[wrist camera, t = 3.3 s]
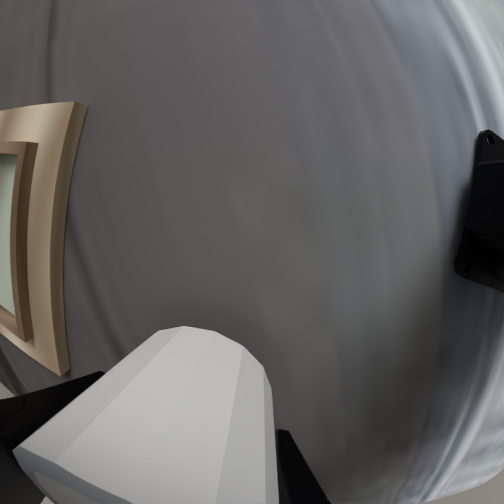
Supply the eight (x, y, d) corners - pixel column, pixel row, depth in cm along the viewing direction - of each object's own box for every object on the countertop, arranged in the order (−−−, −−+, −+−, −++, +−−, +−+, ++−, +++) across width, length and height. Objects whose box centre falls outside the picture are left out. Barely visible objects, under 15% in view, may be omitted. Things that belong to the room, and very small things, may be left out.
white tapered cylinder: (173, 269, 9) (3, 400, 2) (325, 385, 9) (350, 559, 2) (102, 376, 10) (13, 474, 3) (219, 457, 11) (187, 573, 4)
